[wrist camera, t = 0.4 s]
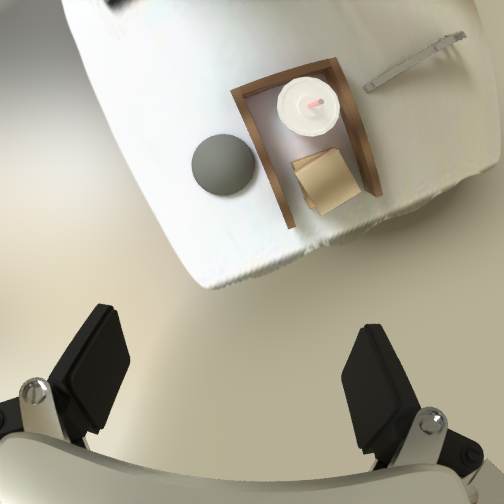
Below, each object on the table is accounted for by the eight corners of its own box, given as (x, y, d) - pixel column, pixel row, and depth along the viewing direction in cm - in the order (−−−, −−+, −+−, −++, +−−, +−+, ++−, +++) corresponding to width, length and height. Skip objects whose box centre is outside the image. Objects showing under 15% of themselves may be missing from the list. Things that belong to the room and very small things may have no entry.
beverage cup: (311, 140, 33) (345, 149, 20) (265, 126, 32) (272, 124, 20) (325, 98, 30) (366, 83, 18) (279, 82, 30) (294, 55, 17)
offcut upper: (292, 171, 32) (296, 175, 29) (331, 148, 31) (338, 150, 28) (316, 208, 34) (321, 216, 31) (352, 186, 33) (361, 191, 30)
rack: (232, 94, 30) (229, 90, 27) (327, 63, 28) (336, 57, 24) (285, 219, 37) (288, 229, 34) (371, 187, 35) (383, 195, 32)
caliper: (444, 35, 23) (467, 28, 18) (448, 41, 24) (471, 34, 18) (361, 87, 29) (381, 81, 24) (366, 93, 30) (386, 88, 24)
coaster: (209, 124, 32) (208, 124, 32) (265, 151, 34) (265, 151, 33) (183, 178, 35) (181, 179, 35) (236, 204, 37) (236, 205, 36)
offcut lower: (290, 161, 34) (293, 164, 32) (332, 147, 33) (339, 149, 31) (305, 202, 37) (309, 209, 34) (345, 188, 36) (352, 193, 33)
